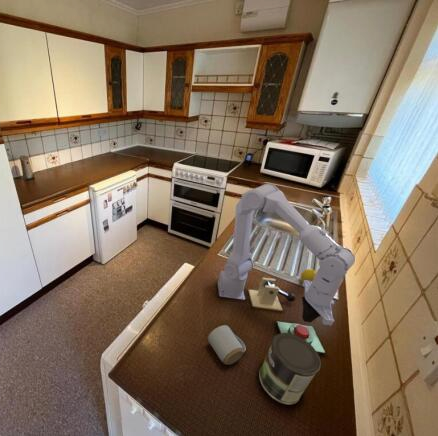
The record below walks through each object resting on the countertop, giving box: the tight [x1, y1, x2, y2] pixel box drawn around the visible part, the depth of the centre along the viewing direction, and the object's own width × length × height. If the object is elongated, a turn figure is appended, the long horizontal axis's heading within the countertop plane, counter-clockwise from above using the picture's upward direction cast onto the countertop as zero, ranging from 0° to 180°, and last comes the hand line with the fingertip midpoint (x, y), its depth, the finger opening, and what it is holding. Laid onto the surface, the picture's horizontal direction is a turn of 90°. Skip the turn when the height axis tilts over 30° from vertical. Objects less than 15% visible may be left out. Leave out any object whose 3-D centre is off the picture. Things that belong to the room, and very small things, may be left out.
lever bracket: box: [248, 277, 283, 312], centre depth 87 cm, size 10×8×9 cm
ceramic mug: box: [207, 324, 247, 366], centre depth 70 cm, size 11×8×8 cm
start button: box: [295, 324, 309, 339], centre depth 74 cm, size 4×4×2 cm
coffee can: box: [258, 332, 322, 405], centre depth 61 cm, size 10×10×14 cm
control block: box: [275, 320, 326, 355], centre depth 75 cm, size 11×9×3 cm
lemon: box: [300, 268, 317, 284], centre depth 95 cm, size 6×6×8 cm
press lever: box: [263, 281, 296, 303], centre depth 86 cm, size 12×3×3 cm, turn 81°
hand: (306, 320), depth 72 cm, fingers closed
